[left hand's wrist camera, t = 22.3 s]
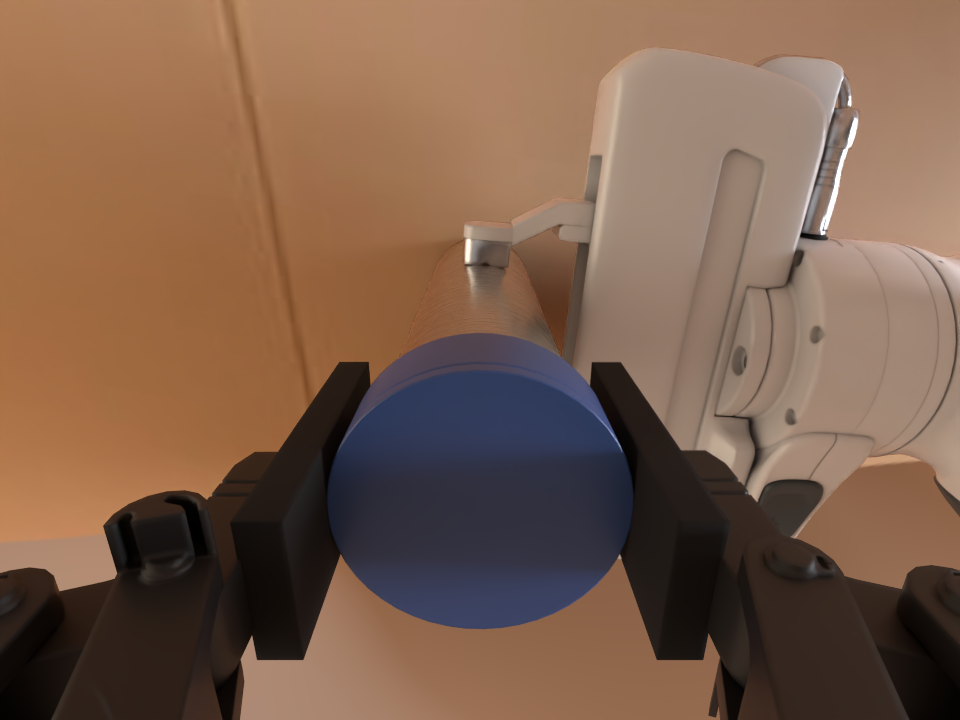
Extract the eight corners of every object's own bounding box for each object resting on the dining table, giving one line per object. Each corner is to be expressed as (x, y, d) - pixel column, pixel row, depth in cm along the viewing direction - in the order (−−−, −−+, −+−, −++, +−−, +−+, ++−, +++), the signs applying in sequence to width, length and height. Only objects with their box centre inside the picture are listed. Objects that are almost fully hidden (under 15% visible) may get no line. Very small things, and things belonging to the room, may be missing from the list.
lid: (651, 490, 13) (685, 555, 10) (441, 591, 14) (434, 668, 12) (529, 279, 11) (540, 308, 9) (298, 414, 12) (261, 468, 10)
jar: (541, 254, 27) (642, 414, 10) (510, 343, 29) (552, 604, 12) (447, 224, 27) (391, 340, 10) (421, 316, 29) (334, 551, 12)
